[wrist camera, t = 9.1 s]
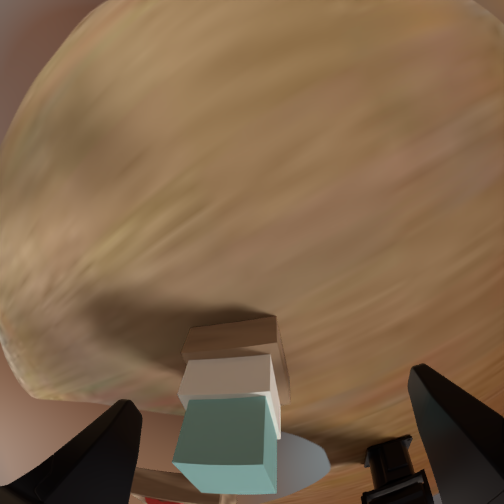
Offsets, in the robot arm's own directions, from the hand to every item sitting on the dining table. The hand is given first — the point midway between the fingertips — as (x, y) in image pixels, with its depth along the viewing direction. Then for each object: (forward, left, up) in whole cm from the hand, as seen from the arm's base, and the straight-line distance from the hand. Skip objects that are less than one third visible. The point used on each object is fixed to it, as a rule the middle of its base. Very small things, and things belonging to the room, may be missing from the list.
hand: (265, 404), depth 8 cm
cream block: (-9, +4, -10) cm, 14 cm away
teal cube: (-9, +4, -6) cm, 12 cm away
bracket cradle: (-39, +21, -13) cm, 46 cm away
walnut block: (-9, +4, -13) cm, 17 cm away
